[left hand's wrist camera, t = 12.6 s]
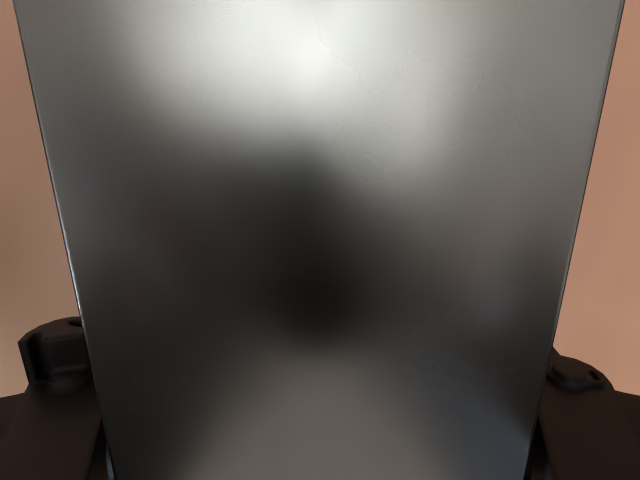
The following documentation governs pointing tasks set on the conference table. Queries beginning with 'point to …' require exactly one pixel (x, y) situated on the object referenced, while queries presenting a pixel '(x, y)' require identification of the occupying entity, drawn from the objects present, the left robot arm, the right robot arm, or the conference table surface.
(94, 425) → the left robot arm
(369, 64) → the bar
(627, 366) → the conference table surface
